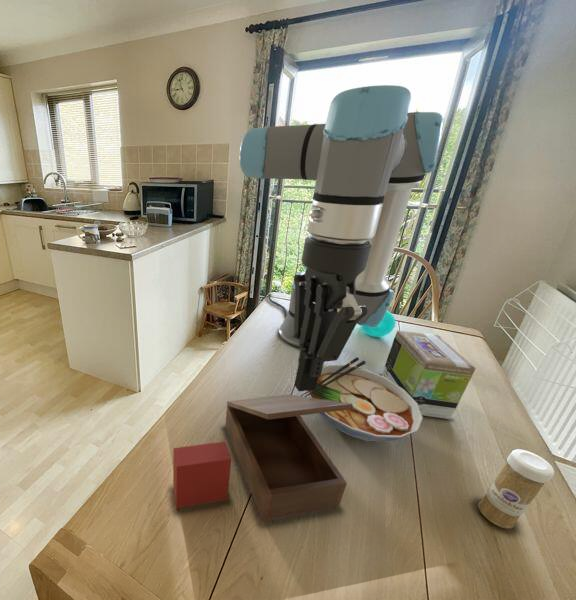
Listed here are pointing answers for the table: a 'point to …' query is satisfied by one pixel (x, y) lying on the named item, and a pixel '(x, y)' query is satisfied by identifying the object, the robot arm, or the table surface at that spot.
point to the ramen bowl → (366, 403)
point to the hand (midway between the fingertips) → (304, 387)
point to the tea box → (428, 372)
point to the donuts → (381, 326)
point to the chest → (283, 464)
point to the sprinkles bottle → (515, 488)
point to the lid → (287, 406)
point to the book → (201, 473)
